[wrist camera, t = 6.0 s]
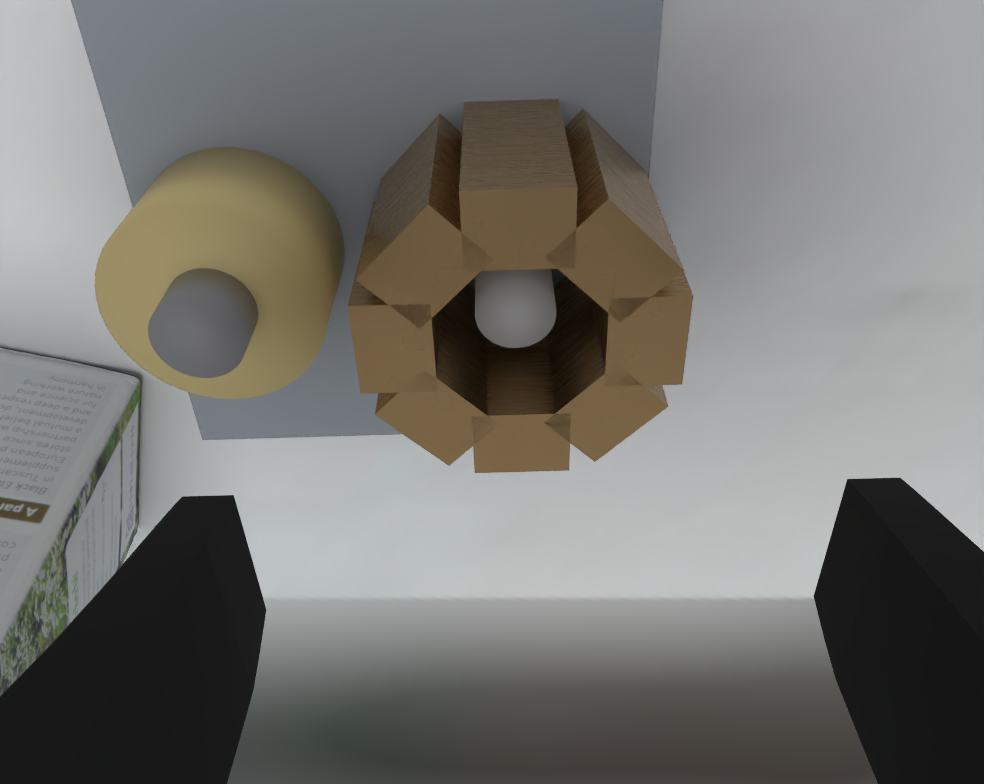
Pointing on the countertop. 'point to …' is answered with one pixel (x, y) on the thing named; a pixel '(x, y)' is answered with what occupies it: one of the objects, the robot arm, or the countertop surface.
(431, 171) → the brown segmented ring
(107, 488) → the syrup box
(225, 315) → the carrier plate
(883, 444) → the countertop surface
